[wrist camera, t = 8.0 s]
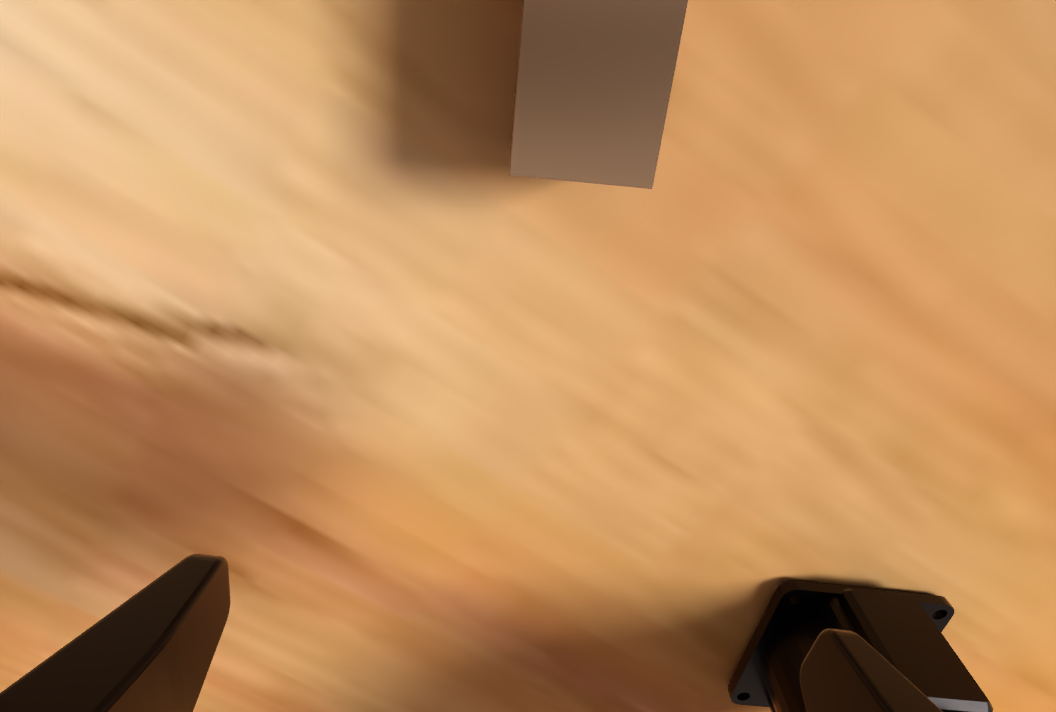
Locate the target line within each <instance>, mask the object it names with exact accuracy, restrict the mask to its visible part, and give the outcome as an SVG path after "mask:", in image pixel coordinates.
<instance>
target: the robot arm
mask: <svg viewBox="0 0 1056 712" xmlns="http://www.w3.org/2000/svg"><path fill="white" fill-rule="evenodd" d="M229 609H230V588H229V571H228V563H227V561H226V559H225V558H223V557H220V556H211V555H203V554H193V555H190V556H188V557H186V558H185V559H183V560H182V561H181V562H179V563H178V564H177V565H175V566H174V567H172V568H171V569H170V570H168V571H167V572H166V573H164V574H163V575H161V576H160V577H159V578H157V579H156V580H155V581H153V582H152V583H151V584H149V585H148V586H146V587H145V588H144V589H142V590H141V591H140V592H138V593H137V594H135V595H134V596H133V597H131V598H130V599H129V600H127V601H126V602H124V603H123V604H122V605H120V606H119V607H118V608H116V609H115V610H113V611H112V612H111V613H109V614H108V615H107V616H105V617H104V618H103V619H101V620H100V621H98V622H97V623H96V624H94V625H93V626H92V627H90V628H89V629H87V630H86V631H85V632H83V633H82V634H81V635H79V636H78V637H76V638H75V639H74V640H72V641H71V642H70V643H68V644H67V645H66V646H64V647H63V648H61V649H60V650H59V651H57V652H56V653H55V654H53V655H52V656H50V657H49V658H48V659H46V660H45V661H44V662H42V663H41V664H39V665H38V666H37V667H35V668H34V669H33V670H31V671H30V672H28V673H27V674H26V675H24V676H23V677H22V678H20V679H19V680H18V681H16V682H15V683H13V684H12V685H11V686H9V687H8V688H7V689H5V690H4V691H2V692H1V693H0V712H193V710H194V707H195V704H196V702H197V699H198V696H199V694H200V691H201V688H202V686H203V683H204V680H205V678H206V675H207V672H208V669H209V667H210V664H211V661H212V659H213V656H214V653H215V651H216V648H217V645H218V643H219V640H220V637H221V635H222V632H223V629H224V627H225V624H226V621H227V618H228V614H229ZM953 614H954V609H953V607H952V606H951V605H950V603H949V602H948V601H947V599H946V598H944V597H942V596H936V595H927V594H917V593H908V592H899V591H889V590H880V589H871V588H862V587H852V586H843V585H834V584H824V583H815V582H806V581H796V580H793V581H787V582H784V583H783V584H781V585H780V586H779V587H778V588H777V590H776V592H775V594H774V596H773V598H772V600H771V602H770V604H769V606H768V608H767V610H766V612H765V614H764V616H763V618H762V620H761V622H760V624H759V626H758V628H757V630H756V632H755V634H754V636H753V638H752V640H751V642H750V644H749V645H748V647H747V649H746V651H745V653H744V655H743V657H742V659H741V661H740V663H739V665H738V667H737V669H736V671H735V673H734V675H733V677H732V679H731V681H730V683H729V685H728V692H729V695H730V698H731V700H732V702H734V703H736V704H741V705H752V706H764V707H770V709H771V711H772V712H992V711H993V708H992V706H991V704H990V702H989V700H988V699H987V697H986V696H985V694H984V693H983V691H982V690H981V689H980V687H979V686H978V684H977V683H976V682H975V680H974V679H973V677H972V676H971V674H970V673H969V672H968V670H967V669H966V667H965V666H964V664H963V663H962V662H961V660H960V659H959V657H958V656H957V655H956V653H955V652H954V650H953V649H952V647H951V646H950V645H949V643H948V642H947V640H946V639H945V638H944V636H943V635H942V633H941V632H942V630H943V629H944V628H945V626H946V625H947V623H948V622H949V621H950V619H951V618H952V616H953Z"/></svg>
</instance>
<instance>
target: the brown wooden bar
mask: <svg viewBox="0 0 1056 712" xmlns="http://www.w3.org/2000/svg"><path fill="white" fill-rule="evenodd" d="M687 2H688V0H523V3H522V15H521V27H520V40H519V52H518V64H517V76H516V89H515V101H514V113H513V126H512V138H511V156H510V175H512V176H522V177H533V178H543V179H553V180H564V181H574V182H585V183H595V184H606V185H616V186H627V187H637V188H648V189H652V187H653V181H654V176H655V171H656V166H657V160H658V155H659V150H660V145H661V139H662V134H663V129H664V123H665V118H666V113H667V108H668V102H669V97H670V92H671V87H672V81H673V76H674V71H675V66H676V60H677V55H678V50H679V45H680V39H681V34H682V29H683V24H684V18H685V13H686V8H687Z"/></svg>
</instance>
